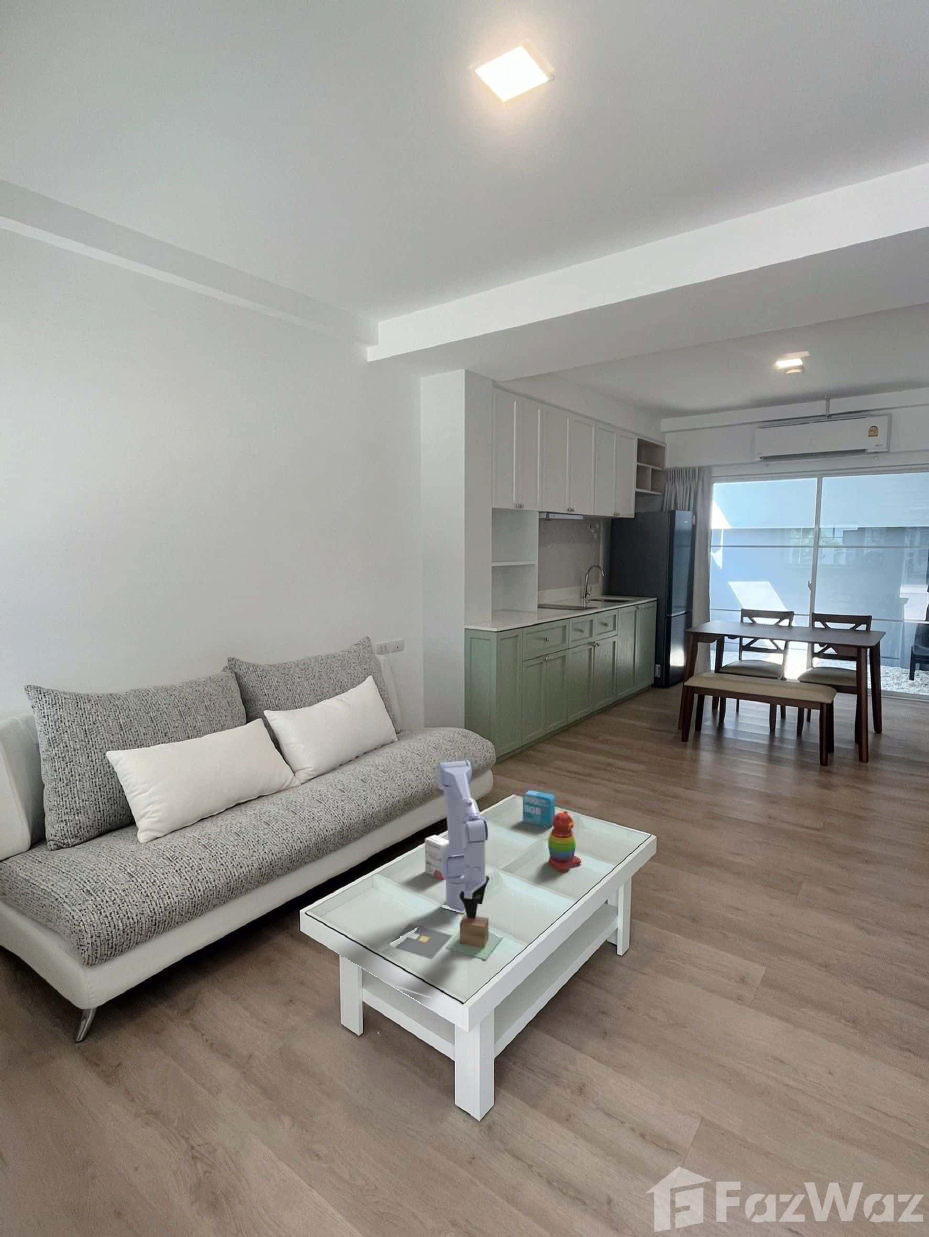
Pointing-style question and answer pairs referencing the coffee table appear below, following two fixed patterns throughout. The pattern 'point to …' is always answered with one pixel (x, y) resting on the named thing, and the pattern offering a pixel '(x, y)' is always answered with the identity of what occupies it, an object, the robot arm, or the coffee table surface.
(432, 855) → the ink box
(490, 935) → the mat
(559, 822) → the stacking bear
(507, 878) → the coffee table surface
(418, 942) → the grey flat rectangular plate
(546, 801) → the data package
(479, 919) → the walnut block
